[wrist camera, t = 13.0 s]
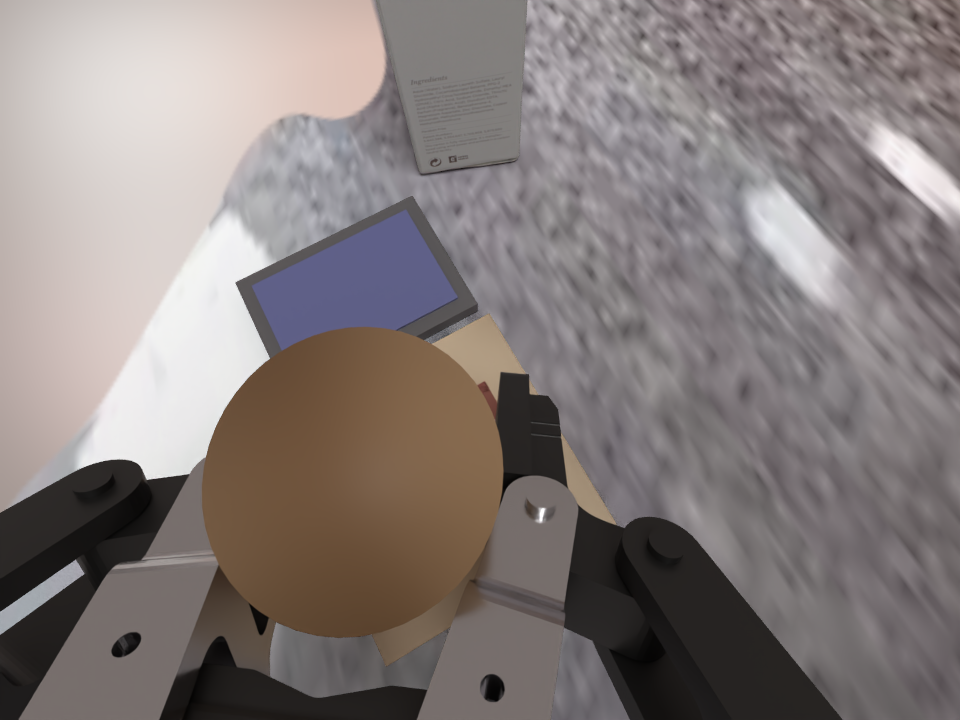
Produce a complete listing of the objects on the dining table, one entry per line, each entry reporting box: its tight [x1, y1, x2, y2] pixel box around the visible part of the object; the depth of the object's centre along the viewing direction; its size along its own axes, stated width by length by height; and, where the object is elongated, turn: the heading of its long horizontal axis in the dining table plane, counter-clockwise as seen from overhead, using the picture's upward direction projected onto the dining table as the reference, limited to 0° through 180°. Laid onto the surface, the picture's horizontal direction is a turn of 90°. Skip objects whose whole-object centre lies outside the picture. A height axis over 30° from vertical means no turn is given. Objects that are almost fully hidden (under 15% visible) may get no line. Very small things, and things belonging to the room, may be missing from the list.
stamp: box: [202, 327, 503, 638], centre depth 10 cm, size 4×4×10 cm
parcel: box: [372, 314, 616, 667], centre depth 19 cm, size 9×9×5 cm
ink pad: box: [235, 196, 478, 359], centre depth 23 cm, size 10×7×1 cm
